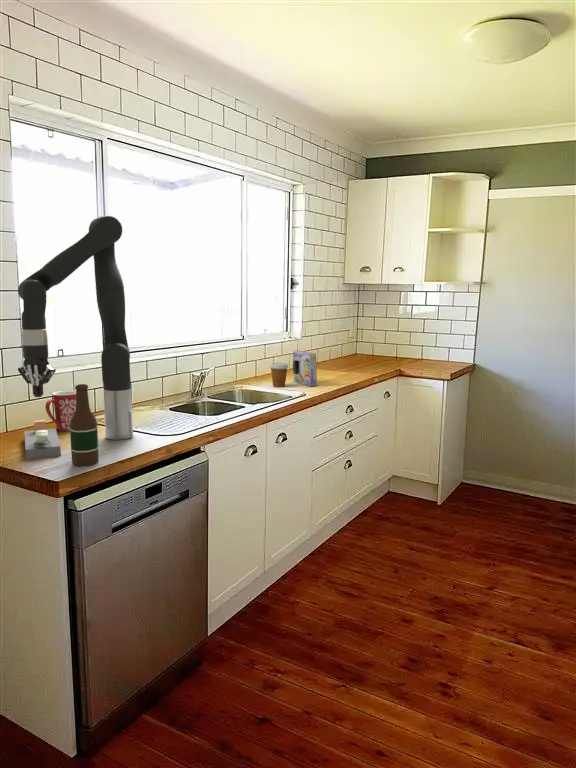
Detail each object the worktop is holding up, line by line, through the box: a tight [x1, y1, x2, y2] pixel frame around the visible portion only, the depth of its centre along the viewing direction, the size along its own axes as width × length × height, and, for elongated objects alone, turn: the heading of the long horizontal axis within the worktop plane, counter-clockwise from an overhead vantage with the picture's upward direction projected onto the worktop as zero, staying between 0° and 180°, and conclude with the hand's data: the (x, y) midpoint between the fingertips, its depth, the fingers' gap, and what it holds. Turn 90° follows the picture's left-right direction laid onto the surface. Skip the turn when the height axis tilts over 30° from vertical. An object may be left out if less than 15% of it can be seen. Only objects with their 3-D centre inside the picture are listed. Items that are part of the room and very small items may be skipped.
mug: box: [45, 390, 76, 431], centre depth 217 cm, size 13×9×14 cm
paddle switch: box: [33, 419, 47, 432], centre depth 202 cm, size 4×3×3 cm
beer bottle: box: [69, 383, 100, 468], centre depth 175 cm, size 8×8×24 cm
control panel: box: [24, 428, 62, 460], centre depth 194 cm, size 10×26×3 cm, turn 24°
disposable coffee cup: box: [269, 362, 289, 388], centre depth 311 cm, size 10×10×12 cm
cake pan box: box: [292, 350, 318, 387], centre depth 318 cm, size 19×5×18 cm, turn 28°
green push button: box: [36, 433, 49, 442], centre depth 184 cm, size 4×4×2 cm
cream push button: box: [35, 430, 48, 434], centre depth 188 cm, size 4×4×2 cm
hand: (38, 396), depth 191 cm, fingers closed
